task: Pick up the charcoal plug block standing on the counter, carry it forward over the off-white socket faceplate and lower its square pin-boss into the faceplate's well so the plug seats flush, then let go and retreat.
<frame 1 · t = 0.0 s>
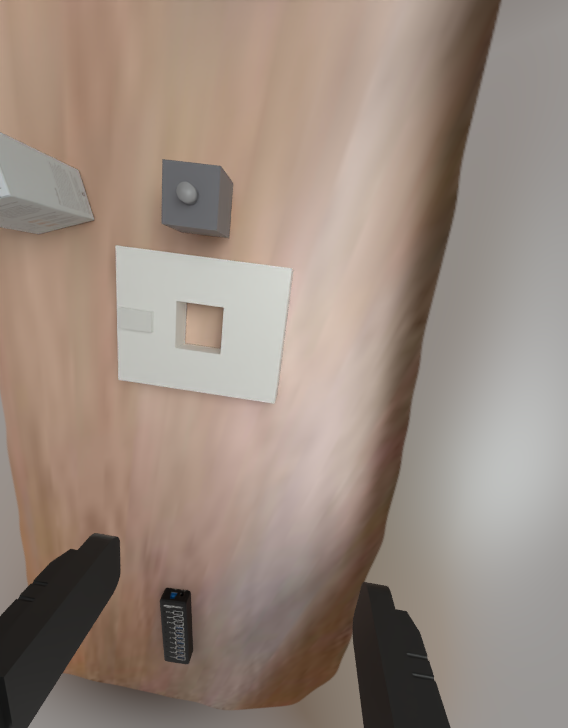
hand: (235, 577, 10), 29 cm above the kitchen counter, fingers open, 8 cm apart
small box: (60, 204, 35), on the kitchen counter
socket plate: (207, 325, 37), on the kitchen counter
plug: (214, 213, 34), on the kitchen counter
multiport hub: (180, 617, 52), on the kitchen counter
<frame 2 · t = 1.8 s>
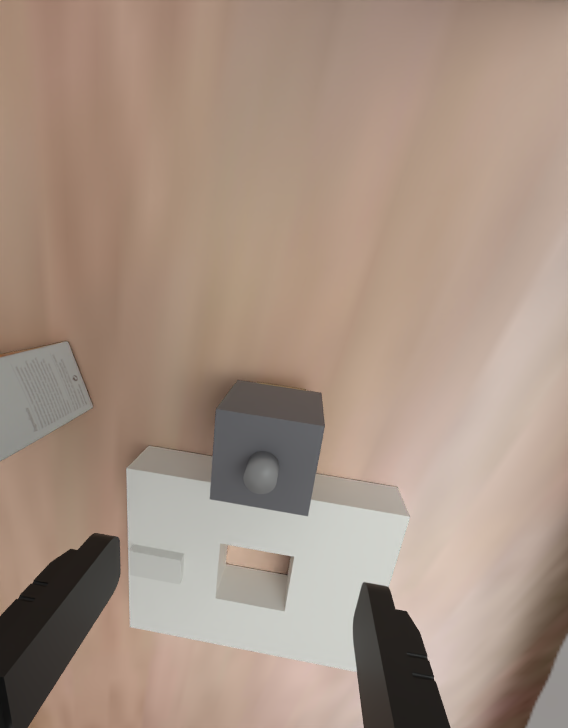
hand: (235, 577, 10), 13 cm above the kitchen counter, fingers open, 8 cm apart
small box: (41, 381, 23), on the kitchen counter
socket plate: (259, 544, 25), on the kitchen counter
plug: (278, 408, 22), on the kitchen counter
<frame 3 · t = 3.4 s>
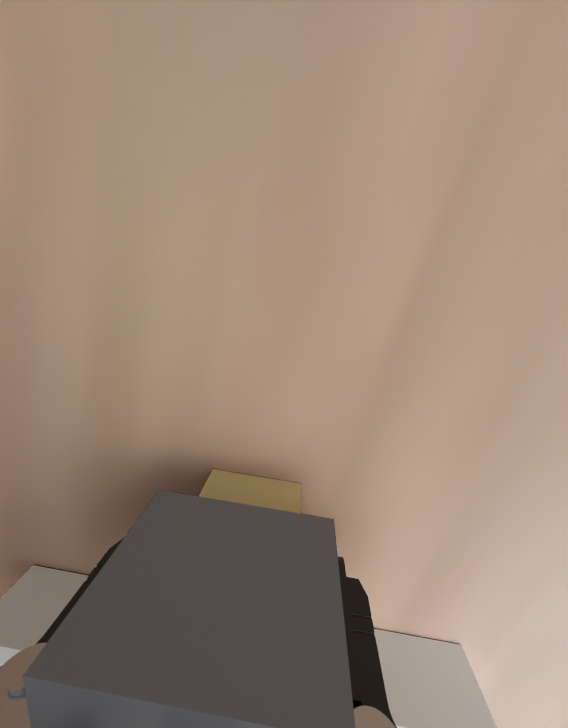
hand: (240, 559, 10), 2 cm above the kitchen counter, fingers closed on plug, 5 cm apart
socket plate: (226, 715, 16), on the kitchen counter
plug: (252, 513, 12), on the kitchen counter, touching gripper
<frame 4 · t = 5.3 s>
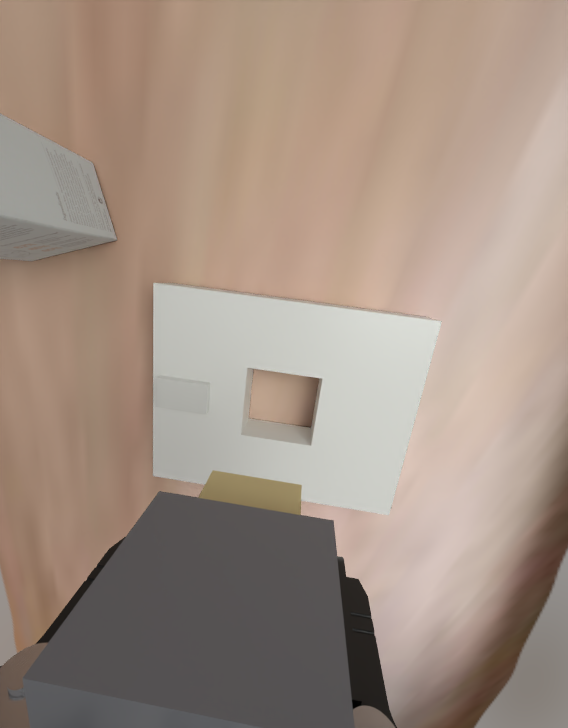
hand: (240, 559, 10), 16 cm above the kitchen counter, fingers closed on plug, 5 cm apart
small box: (64, 216, 23), on the kitchen counter
socket plate: (283, 393, 25), on the kitchen counter
plug: (252, 514, 12), point 14 cm above the kitchen counter, touching gripper
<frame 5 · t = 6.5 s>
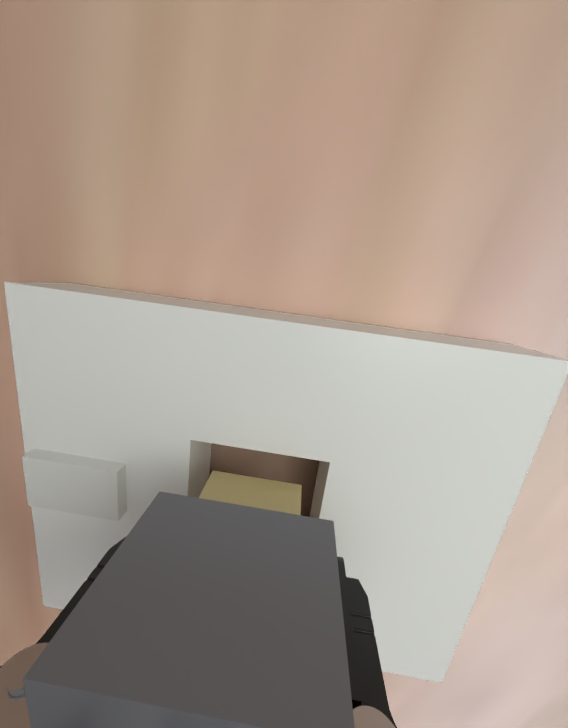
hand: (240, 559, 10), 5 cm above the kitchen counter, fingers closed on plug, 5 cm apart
socket plate: (263, 466, 15), on the kitchen counter
plug: (252, 514, 12), point 3 cm above the kitchen counter, touching gripper
when the fingers open (3 cm above the kitchen counter, at t = 7.3 s): plug drops 1 cm, resting in socket plate.
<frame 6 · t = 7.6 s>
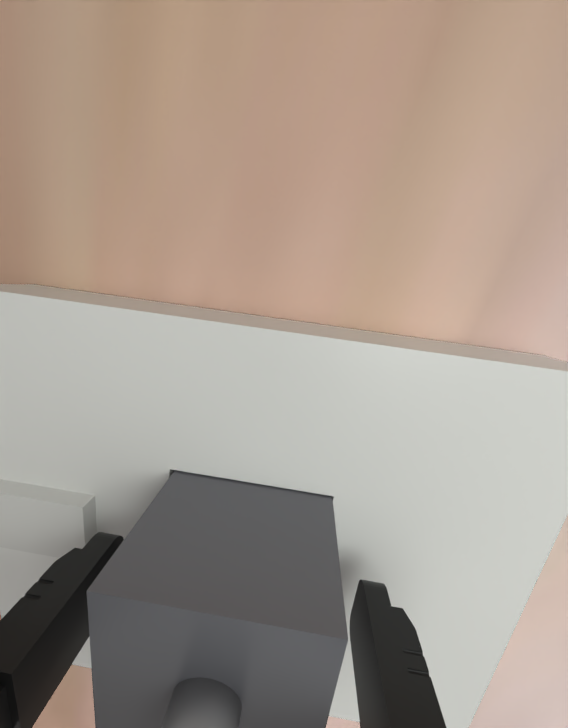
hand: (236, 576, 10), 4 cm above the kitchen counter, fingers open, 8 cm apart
socket plate: (257, 492, 13), on the kitchen counter
plug: (258, 491, 13), resting in socket plate
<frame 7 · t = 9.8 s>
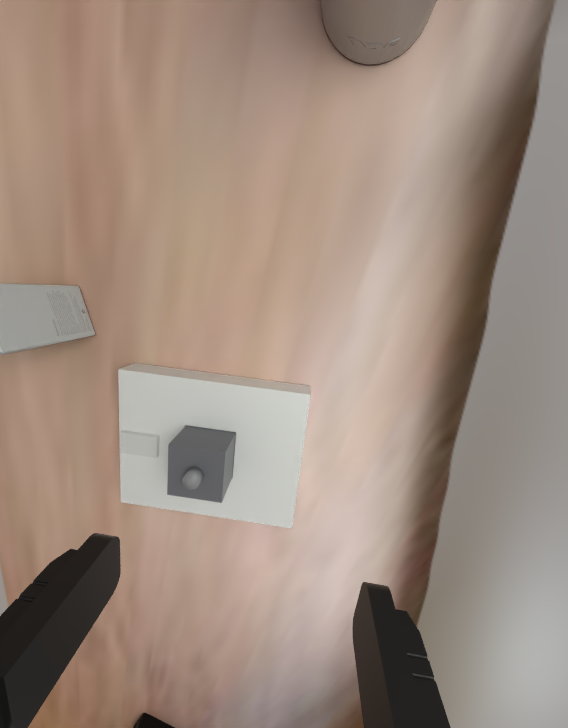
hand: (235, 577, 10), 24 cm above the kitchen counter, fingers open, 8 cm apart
small box: (58, 318, 33), on the kitchen counter
socket plate: (217, 439, 35), on the kitchen counter
plug: (217, 438, 35), resting in socket plate
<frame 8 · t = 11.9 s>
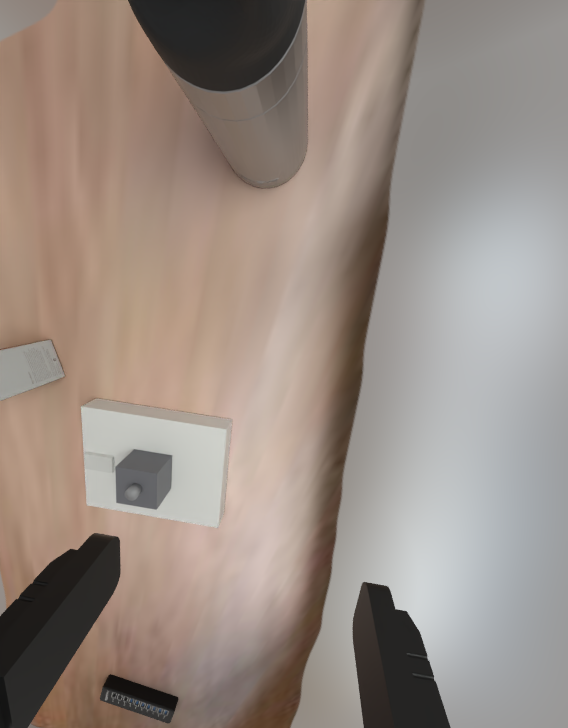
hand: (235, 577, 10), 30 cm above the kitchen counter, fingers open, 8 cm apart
small box: (36, 362, 42), on the kitchen counter
socket plate: (162, 457, 44), on the kitchen counter
plug: (163, 457, 44), resting in socket plate
multiport hub: (143, 688, 59), on the kitchen counter
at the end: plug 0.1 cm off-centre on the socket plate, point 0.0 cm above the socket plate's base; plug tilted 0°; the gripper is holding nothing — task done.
